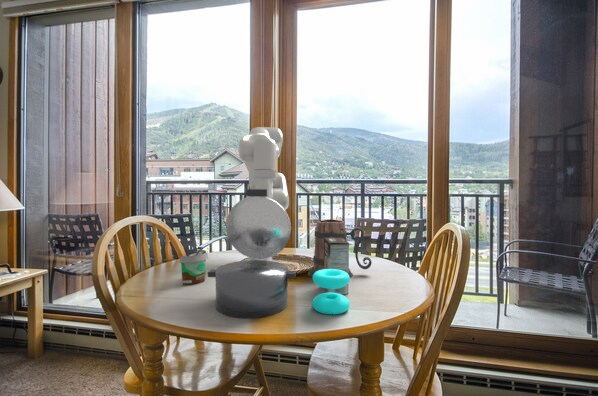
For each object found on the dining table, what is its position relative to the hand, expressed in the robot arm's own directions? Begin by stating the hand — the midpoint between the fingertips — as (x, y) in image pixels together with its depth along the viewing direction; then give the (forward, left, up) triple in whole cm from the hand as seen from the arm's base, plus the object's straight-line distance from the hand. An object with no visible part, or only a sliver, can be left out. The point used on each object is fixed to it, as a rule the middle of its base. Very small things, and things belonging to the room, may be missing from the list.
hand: (264, 229), depth 113 cm
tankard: (-11, +26, -19) cm, 34 cm away
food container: (+2, -23, -19) cm, 30 cm away
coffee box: (+7, +24, -19) cm, 31 cm away
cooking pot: (+21, 0, -18) cm, 27 cm away
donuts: (+23, +22, -19) cm, 37 cm away
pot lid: (+12, 0, +3) cm, 12 cm away
